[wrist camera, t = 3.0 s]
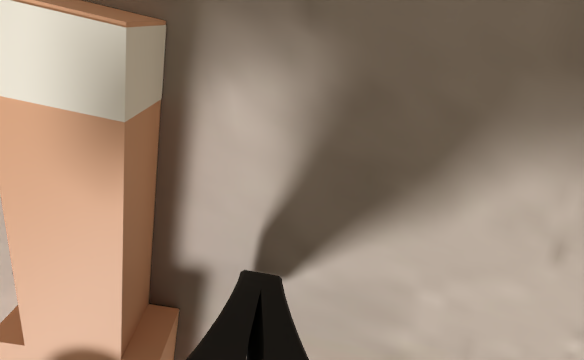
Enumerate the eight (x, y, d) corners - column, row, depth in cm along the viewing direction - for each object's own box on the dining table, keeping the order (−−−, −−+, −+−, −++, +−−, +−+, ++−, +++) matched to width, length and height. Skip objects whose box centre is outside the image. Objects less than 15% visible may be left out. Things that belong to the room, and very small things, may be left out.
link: (169, 393, 16) (150, 454, 14) (47, 376, 15) (6, 437, 13) (210, 31, 9) (185, 36, 7) (-3, -20, 9) (-104, -33, 6)
